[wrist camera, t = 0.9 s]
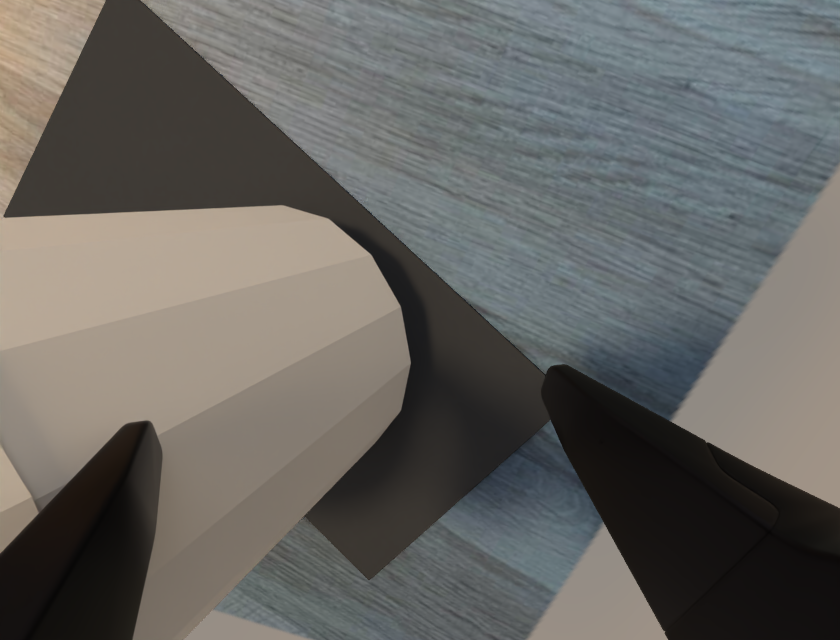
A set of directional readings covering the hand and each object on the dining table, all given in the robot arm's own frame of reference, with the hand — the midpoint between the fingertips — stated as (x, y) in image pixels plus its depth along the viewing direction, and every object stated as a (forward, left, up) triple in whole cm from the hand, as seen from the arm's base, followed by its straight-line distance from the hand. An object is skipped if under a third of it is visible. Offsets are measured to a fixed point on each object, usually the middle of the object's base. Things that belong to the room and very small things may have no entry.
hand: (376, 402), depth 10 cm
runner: (+9, +7, -12) cm, 17 cm away
